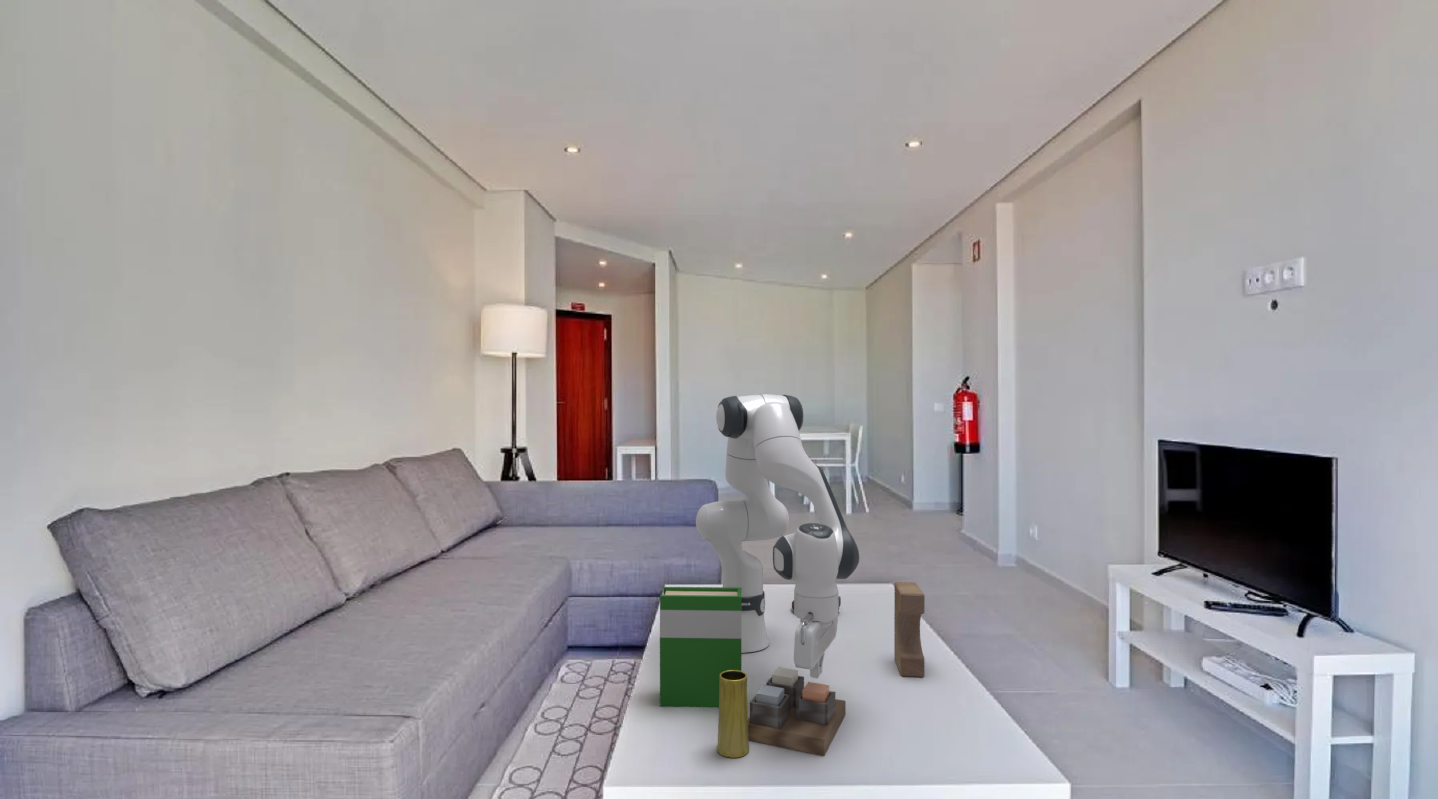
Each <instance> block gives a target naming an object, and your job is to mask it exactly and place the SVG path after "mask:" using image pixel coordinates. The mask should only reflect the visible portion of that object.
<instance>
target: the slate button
mask: <svg viewBox="0 0 1438 799" xmlns="http://www.w3.org/2000/svg"><path fill="white" fill-rule="evenodd" d="M755 696H756V702H757V703H762V704H768V705H773V706H780V704H781V703H782V702H783V700H784V688H779V687H774V686H768V685H766V684H763V685H762V686H761V687H760V688H759V689H758V691H757V692H756V694H755Z"/></svg>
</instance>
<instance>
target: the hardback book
mask: <svg viewBox="0 0 1438 799" xmlns="http://www.w3.org/2000/svg"><path fill="white" fill-rule="evenodd" d="M741 589H742V588H737V587H723V586H721V587H719V586H718V587H717V586H714V587H713V586H712V587H711V586H708V587H707V586H663V591H662V592H663V593H662V594H660V595H659V707H661V708H663V707H664V708H713V709H717V708H718V709H719V676H720V673H722V672H723V671H727V670H739V671H742V653H741Z"/></svg>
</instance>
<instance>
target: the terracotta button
mask: <svg viewBox="0 0 1438 799" xmlns="http://www.w3.org/2000/svg"><path fill="white" fill-rule="evenodd" d="M829 691H830V685H829V684H823V683H819V682H810V681H808V682H807V683H806V684H805V685H804V689H803V690H802V699H805V700H811V701H816V702H822V703H826V702H827V700H828V698H829Z"/></svg>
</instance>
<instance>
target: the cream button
mask: <svg viewBox="0 0 1438 799" xmlns="http://www.w3.org/2000/svg"><path fill="white" fill-rule="evenodd" d="M798 676H799V670H798V669H792V668H786V667H781V666H778V668H776V669H775V671H774V672H773V673H772V674H771V677H772V683H775V684H781V685H787V686H793V687H794V685H795V684H796V683H797V681H798Z"/></svg>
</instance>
